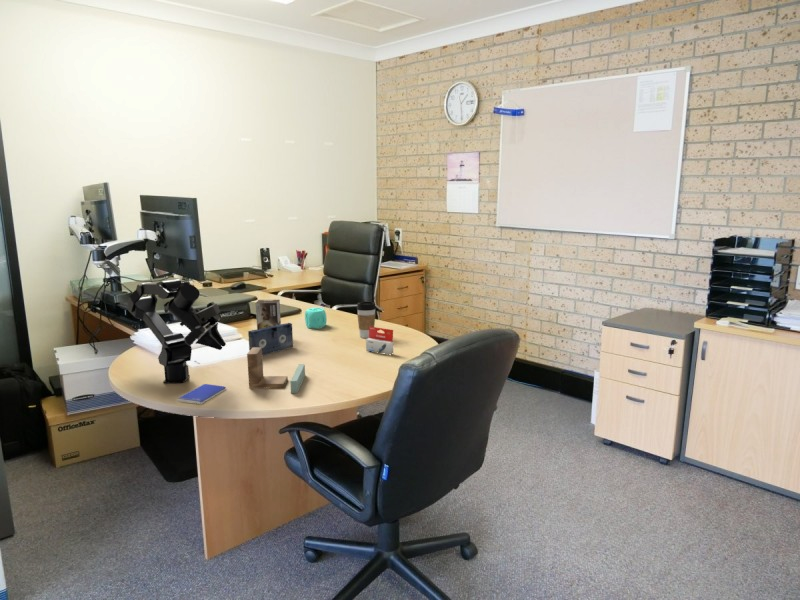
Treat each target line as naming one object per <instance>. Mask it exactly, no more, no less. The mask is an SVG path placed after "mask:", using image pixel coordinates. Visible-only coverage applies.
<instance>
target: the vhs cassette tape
mask: <svg viewBox="0 0 800 600" xmlns="http://www.w3.org/2000/svg"><path fill="white" fill-rule="evenodd" d="M247 333H248V335H247V336H248V345H249V346H248V350H249V351H250V350H251V349H252V348H253V347H262V356H266V355H269V354H273V353H276V352H277V353H278V352H280V351H284V350H288V349H292V348H294V340H293V339H294V338H293V337H294V336H293V323H291V322H287V323H281V325H276V326H271V327H266V328H261V329H257V328H256V329H251V330H248V331H247ZM249 351H248V352H249Z"/></svg>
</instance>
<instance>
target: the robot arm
mask: <svg viewBox="0 0 800 600" xmlns="http://www.w3.org/2000/svg"><path fill="white" fill-rule="evenodd" d="M144 295H147V296H144ZM157 297H158V298H159V299H161V300H168V299H170V300H169V301H166V302H165V303H164V304H163V307H164V313H165V314H167V313H170V314H171V315H172V316H174V317H175V319H177V320H178V321H179V322H180V323H179V325H180V326H181V327H183V326H185V327H186V328H187V329H188V330H189V333H187V335H186V336H184V334H182V333H180V332H179V333H176V334H175V333H174V332H173V331H172V329H171V328H170V327H169V326H168V325H167V324H166V322H165V321H164V320H163V318H162V317H161V316H160V315H159V313H158V312H157V311H156V310H157V309H156V308H157V303H158V298H157ZM199 297H200V290H199V289H198V288H197V287H196V286H195V285H193V284H190V282H189V281H182V280H181V278H177V279H167V280H163V281H162V280H161V281H158V282H151V281H149V282H140V283H139V284H138V283H137V285H136V289H135V290H134V291H133V292H132V293H131V294H130V295H129V297H128V301H127V304H126V305H127V306H126V308H127V311H128V312H129V313H130V314H131V315H132V316H133V317H134V318H135V319H138V320H141V321H143V322H144V323H145V324H146V325H147V327H148V329H149V330H150V331H151V332H152V334H153V335H154V336H155V338H156V339H157V341H159V343H160V344H161V350H160V353H159V354H158V357H157V359H158V363H159V364H160V365H161V366H163V369H164V380H163V381H162V383H163V384H183V383H185V382H186V380H188V379H189V378H190V371H189V365H188V363H187V362H190V361H191V358H192V350H193V348H192V345H193V344H196V345H198V344H199V345H202V346H206V347H210V348H212V349H216V350H219V351H221V350H222V349H223V347H225V346H226V345H227V344H226V342H225V340H224V339H223V337H222V335H221V334H220V331H219V330H218V325H219V323H218V322H219V321H220V320H221V317H220V316H219V314H221V310H220V305H218V304H217V303H215V302H214V301H211V302H208V303H207V304H206V308H204V309H200V308H198V307H196V308H194V307H193V306H194V304H195V303H196V302H197V300H198V299H199ZM196 340H197V341H196ZM194 342H195V343H194Z"/></svg>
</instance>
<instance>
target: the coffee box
mask: <svg viewBox="0 0 800 600" xmlns="http://www.w3.org/2000/svg"><path fill="white" fill-rule="evenodd" d="M280 305H281V303H280V299H258V300H257V301H256V302H255V313H256V314H255V316H256V317H255V318H256V330H257V329H261V328H266V327H271V326H276V325H281V324H282V323H281V322H282V319H281V306H280Z"/></svg>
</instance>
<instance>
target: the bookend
mask: <svg viewBox="0 0 800 600" xmlns="http://www.w3.org/2000/svg"><path fill="white" fill-rule="evenodd" d="M246 358H247V372H248V374H247V375H248V377H247V378H248V388H249V389H284V388H285V387H286V385H287V382H288V381H289V379H288V378H289V377H288V375H272V376H271V375H264V363H263V355H262V347H253V348H252V349H251V350H250V351H248V352H247V354H246Z"/></svg>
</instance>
